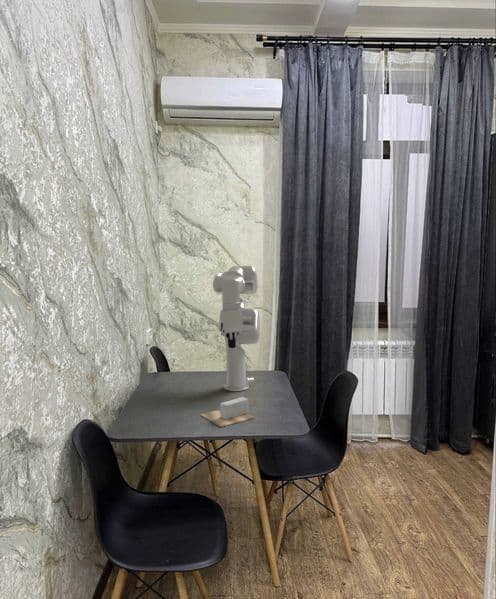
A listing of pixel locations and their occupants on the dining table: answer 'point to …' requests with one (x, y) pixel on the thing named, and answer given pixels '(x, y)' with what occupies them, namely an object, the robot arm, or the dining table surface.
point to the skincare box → (234, 408)
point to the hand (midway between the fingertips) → (231, 347)
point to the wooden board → (222, 422)
